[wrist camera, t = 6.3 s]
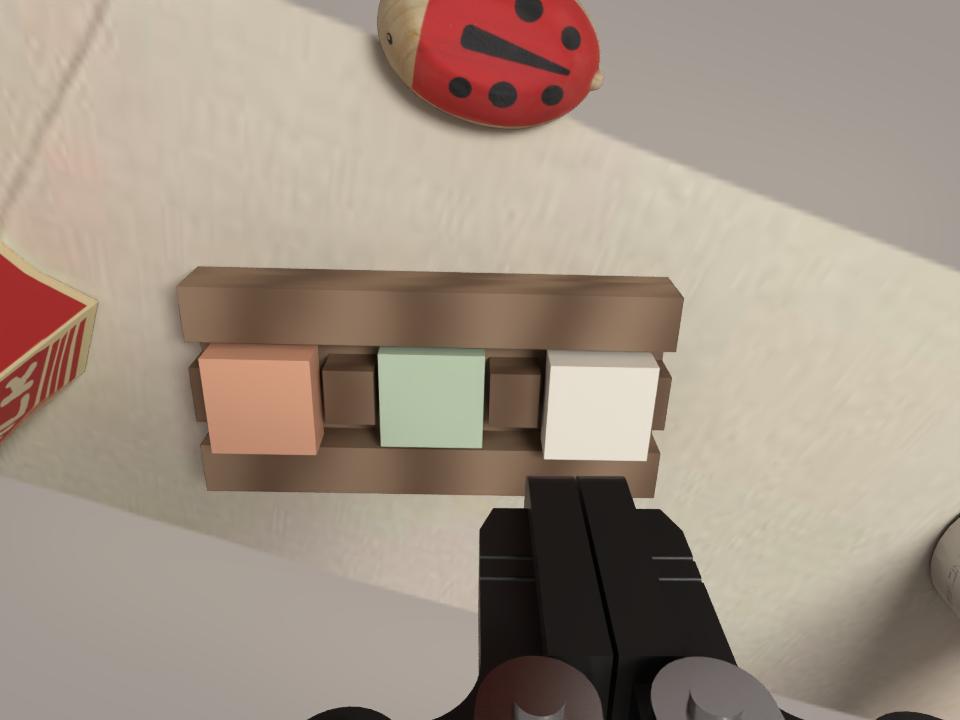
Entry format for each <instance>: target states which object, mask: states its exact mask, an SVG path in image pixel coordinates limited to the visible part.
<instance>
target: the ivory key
mask: <svg viewBox="0 0 960 720" xmlns="http://www.w3.org/2000/svg"><path fill="white" fill-rule="evenodd" d="M659 371H660V368H659V366H658V364H657V362H656V360H655V358H654V357H653V355H652V353H651V352H648V351H600V350H552V349H547V354H546V368H545V382H544V397H543V411H542V425H541V444H542V450H543V456H544V459H556V460H612V461H647V454H648V447H649V440H650V434H651V427H652V420H653V413H654V406H655V399H656V392H657V385H658V378H659Z"/></svg>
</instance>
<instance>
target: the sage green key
mask: <svg viewBox="0 0 960 720" xmlns="http://www.w3.org/2000/svg"><path fill="white" fill-rule="evenodd" d="M484 372H485V348H456V347H409V346H380V348H379V352H378V376H379V405H380V434H381V446H383V447H438V448H482V433H483V403H484Z"/></svg>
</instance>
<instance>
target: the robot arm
mask: <svg viewBox="0 0 960 720" xmlns="http://www.w3.org/2000/svg"><path fill="white" fill-rule="evenodd" d="M930 567H931V579H932V582H933V584H934V587H935V589H936V591H937V592H938V593H939V594H940V596H941V597H942V598H943V600H944V601H945V602H946V603H947V605H948V606H949V607H950V608H951V609H952V611H953V612H954V613H955V614H956V616H957V617H958V618H959V619H960V517H959V518H958V519H957V520H956V521H955V522H954V523H953V524H952V525H951V526H950V527H949V528H948V529H947V531H946V532H945V533H944V535H943V536H942V537H941V539H940V540H939V542H938V544H937V546H936V548H935V550H934V552H933V556H932V561H931V565H930ZM478 616H479V619H478V620H479V676H478V679H477V682H476V684H475V686H474V688H473V690H472V691H471V692H470V694H469V695H468V696H467V698H466V699H465V700H464V701H463V702H462V703H461V704H460V705H458V706H457V707H456V708H454V709H453V710H452V711H450V712H448V713H446V714H445V715H443V716H441V717H439V718H436V719H433V720H803V719H800V718H798V717H795V716H793V715H791V714H789V713H786V712H785V711H783V710H781V709H780V708H778V706H777V704H776V702H775V700H774V699H773V697H772V696H771V694H770V693H769V692H768V690H767V689H766V688H765V687H764V686H763V685H762V684H761V683H760V682H759V681H758V680H757V679H756V678H755V677H753V676H752V675H750V674H749V673H748V672H746V671H744V670H743V669H741V668H739V667H738V666H737V664H736V661H735V659H734V656H733V654H732V652H731V649H730V647H729V644H728V642H727V639H726V637H725V634H724V632H723V629H722V627H721V624H720V622H719V620H718V617H717V615H716V612H715V610H714V607H713V605H712V602H711V600H710V597H709V595H708V592H707V590H706V588H705V585H704V583H702V582H701V575H700V573H699V570H698V568H697V565H696V563H695V561H693V555H692V553H691V551H690V548H689V546H688V543H687V541H686V538H685V536H684V533H683V531H682V530H681V529H680V528H679V527H678V526H677V525H676V524H675V523H674V522H673V521H672V520H671V519H670V518H669V517H668V516H667V515H666V514H664V513H663V512H662V511H661V510H660V509H636V508H635V505H634V502H633V499H632V496H631V492H630V489H629V486H628V483H627V481H626V478H625V477H624V476H576V478H574V476H526V482H525V500H524V508H493V509H492V511H491V513H490V514H489V516H488V517H487V519H486V520H485V522H484V524H483V525H482V527H481V528H480V537H479V603H478ZM308 720H391V719H390V718H388V717H387V716H385V715H383V714H381V713H379V712H377V711H374V710H372V709H367V708H362V707H341V708H335V709H331V710H327V711H325V712H322V713H319V714H317V715H315V716H313V717H311V718H310V719H308ZM876 720H942V719H939V718H937V717H934V716H931V715H927V714H922V713H917V712H907V711H905V712H893V713H889V714H885V715H883V716H881V717H879V718H878V719H876Z"/></svg>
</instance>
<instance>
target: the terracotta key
mask: <svg viewBox="0 0 960 720" xmlns="http://www.w3.org/2000/svg"><path fill="white" fill-rule="evenodd" d="M198 361H199V368H200V375H201V381H202V388H203V395H204V402H205V409H206V415H207V422H208V429H209V436H210V443H211V450H212V453H220V454H276V455H317V452H318V449H319V447H320V444H321V441H322V438H323V436H324V427H323V412H322V398H321V384H320V370H319V356H318V345H313V344H265V343H217V342H212V343H211V344H210V345H209V346H208V347H207V349H206V350H205V351H204V352H203V354H202V355H201V356H200V357H199V358H198Z"/></svg>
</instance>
